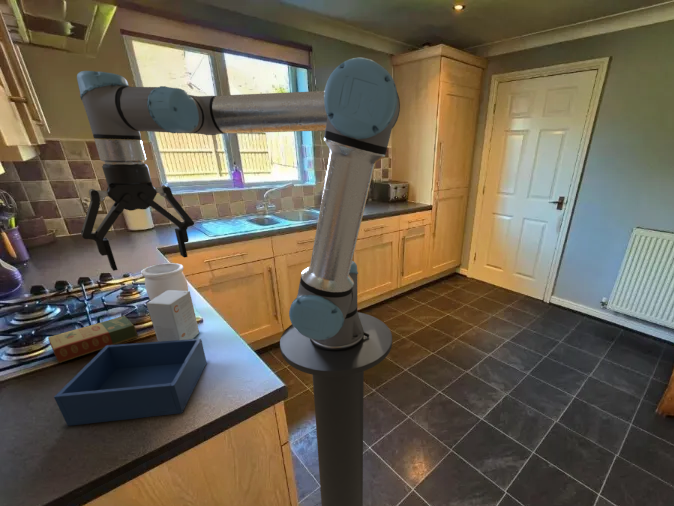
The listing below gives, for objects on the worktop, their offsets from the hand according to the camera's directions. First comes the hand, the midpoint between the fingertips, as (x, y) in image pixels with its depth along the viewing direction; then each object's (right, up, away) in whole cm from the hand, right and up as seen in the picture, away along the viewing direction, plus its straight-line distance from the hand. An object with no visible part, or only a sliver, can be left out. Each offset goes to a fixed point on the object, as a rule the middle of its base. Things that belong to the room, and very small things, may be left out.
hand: (151, 262), depth 75 cm
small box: (-2, -20, +14) cm, 24 cm away
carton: (-22, -21, +11) cm, 32 cm away
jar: (-12, -14, +27) cm, 32 cm away
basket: (+2, -28, -4) cm, 28 cm away
